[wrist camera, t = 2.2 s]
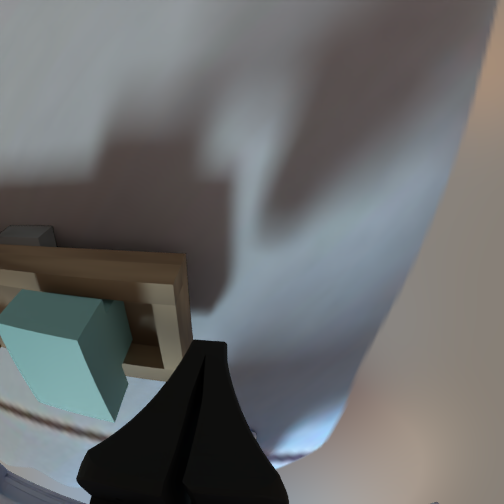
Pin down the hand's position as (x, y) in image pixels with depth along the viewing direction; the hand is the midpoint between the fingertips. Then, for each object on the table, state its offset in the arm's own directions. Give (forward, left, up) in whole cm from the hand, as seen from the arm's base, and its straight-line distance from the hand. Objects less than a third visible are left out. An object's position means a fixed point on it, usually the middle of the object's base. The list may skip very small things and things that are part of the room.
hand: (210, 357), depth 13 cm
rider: (0, +6, -2) cm, 7 cm away
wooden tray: (0, +11, -5) cm, 12 cm away
